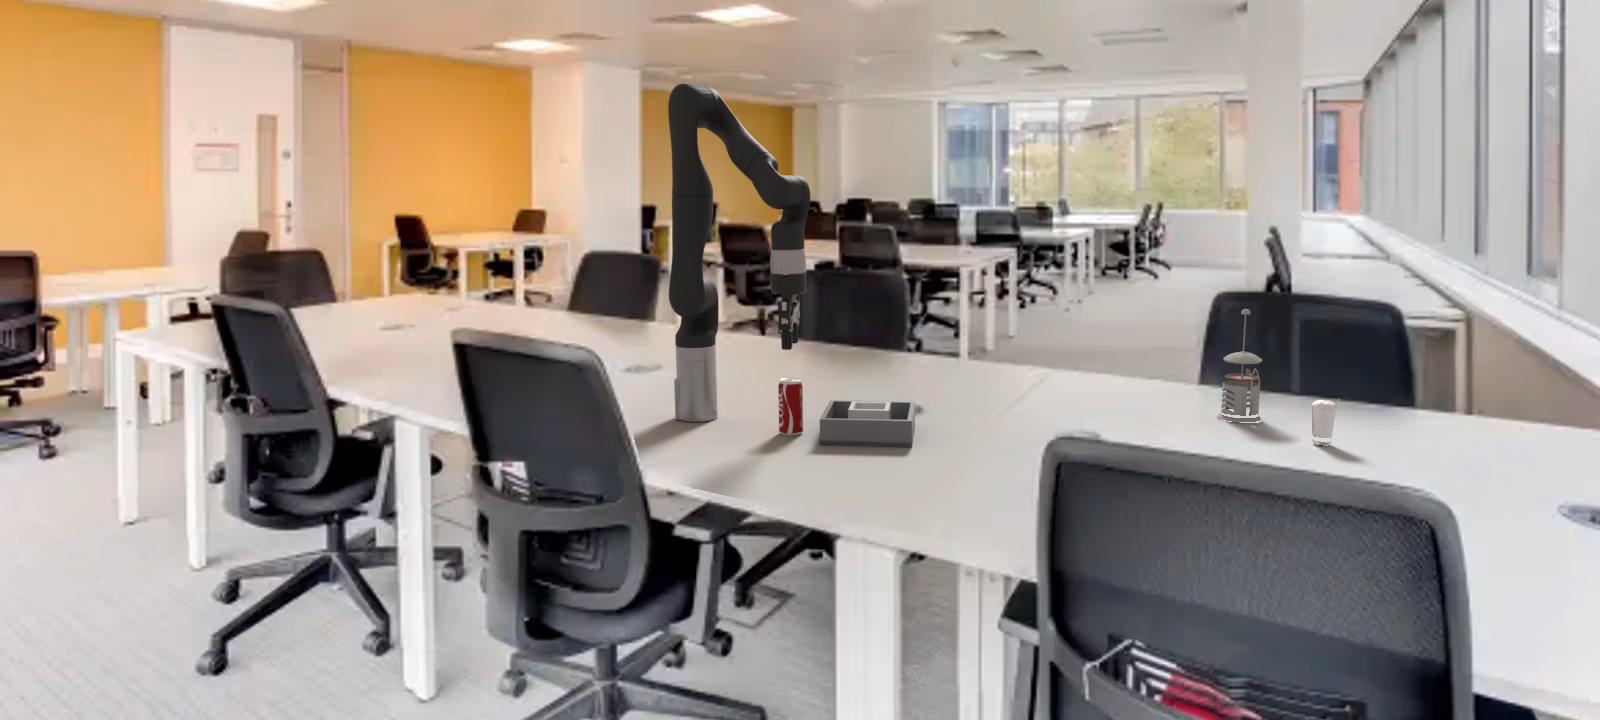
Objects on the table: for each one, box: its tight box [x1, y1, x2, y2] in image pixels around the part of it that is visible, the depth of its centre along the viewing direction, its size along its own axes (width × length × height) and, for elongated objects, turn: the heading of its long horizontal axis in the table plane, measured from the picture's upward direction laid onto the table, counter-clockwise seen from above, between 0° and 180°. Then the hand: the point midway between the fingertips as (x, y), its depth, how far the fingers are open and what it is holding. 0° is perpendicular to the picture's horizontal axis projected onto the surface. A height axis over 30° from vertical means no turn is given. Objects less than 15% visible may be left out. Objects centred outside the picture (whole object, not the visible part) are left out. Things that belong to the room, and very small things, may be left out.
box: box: [819, 399, 916, 448], centre depth 221 cm, size 19×19×6 cm
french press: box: [1216, 308, 1263, 422], centre depth 229 cm, size 10×12×25 cm
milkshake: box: [1311, 398, 1340, 446], centre depth 207 cm, size 4×5×10 cm
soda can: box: [777, 377, 804, 437], centre depth 223 cm, size 5×5×12 cm
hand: (790, 346), depth 220 cm, fingers open, 8 cm apart
